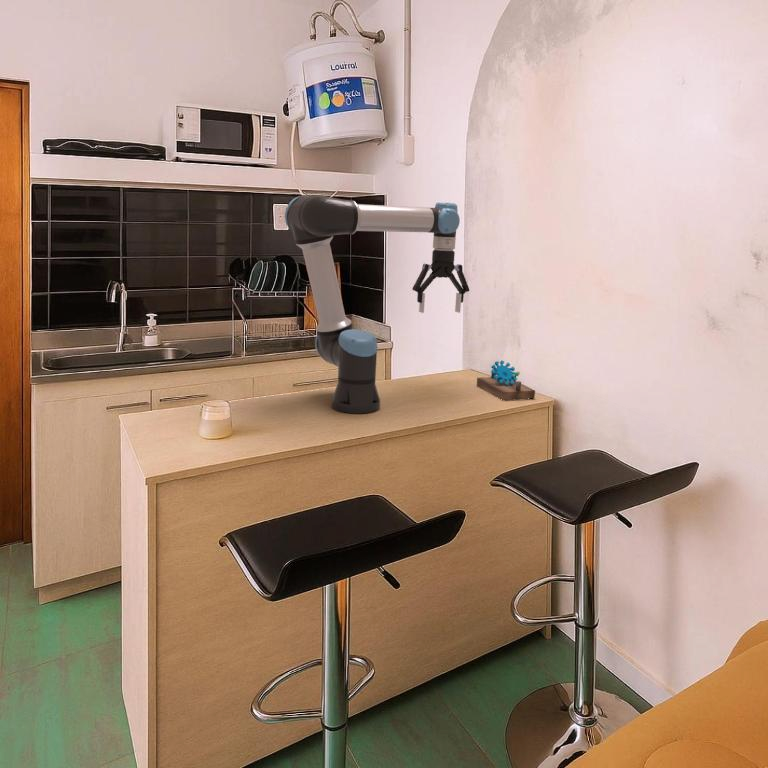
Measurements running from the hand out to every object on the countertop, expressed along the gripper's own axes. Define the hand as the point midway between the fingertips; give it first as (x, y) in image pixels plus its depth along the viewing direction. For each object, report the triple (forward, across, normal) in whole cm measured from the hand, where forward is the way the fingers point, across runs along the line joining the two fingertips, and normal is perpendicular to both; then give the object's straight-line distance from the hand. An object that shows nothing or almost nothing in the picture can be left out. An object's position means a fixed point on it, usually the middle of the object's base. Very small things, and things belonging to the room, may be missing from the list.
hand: (439, 312), depth 233 cm
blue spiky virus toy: (+24, +22, -10) cm, 34 cm away
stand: (+27, +22, -11) cm, 36 cm away
